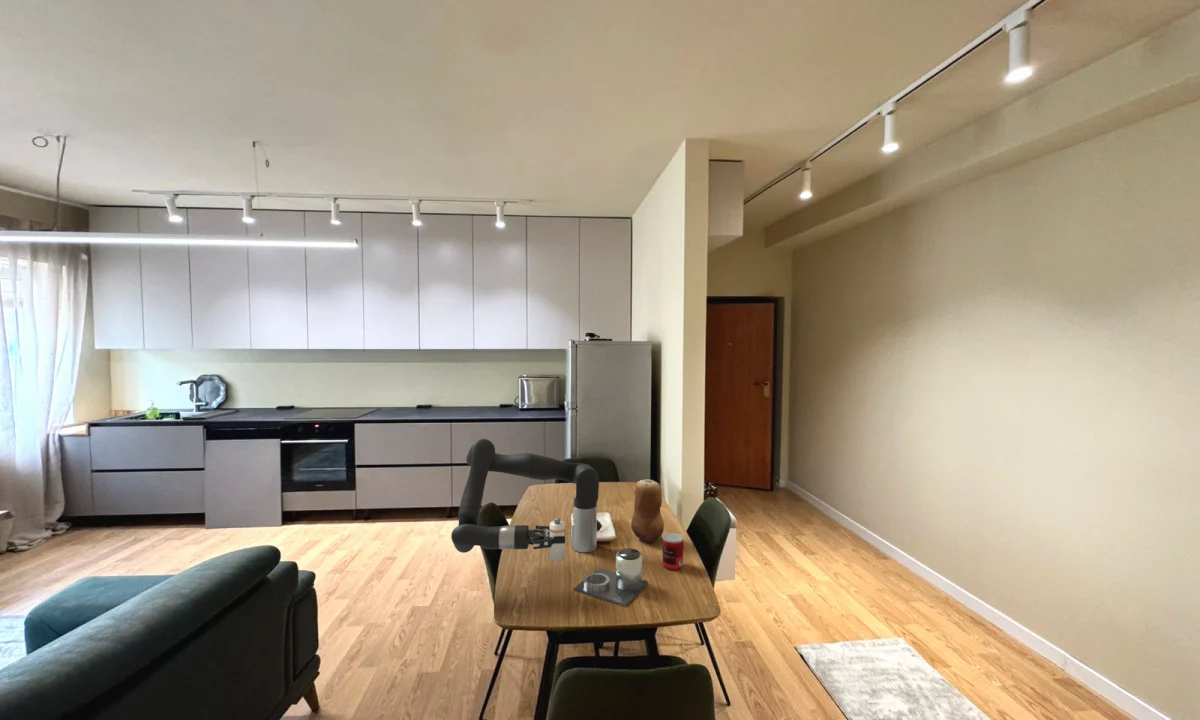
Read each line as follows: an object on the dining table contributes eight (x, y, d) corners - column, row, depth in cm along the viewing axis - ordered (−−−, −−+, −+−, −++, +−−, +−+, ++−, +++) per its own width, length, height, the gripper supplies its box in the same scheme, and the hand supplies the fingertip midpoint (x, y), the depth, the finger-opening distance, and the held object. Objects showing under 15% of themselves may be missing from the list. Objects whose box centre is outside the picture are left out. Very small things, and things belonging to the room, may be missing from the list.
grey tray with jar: (574, 590, 164) (574, 556, 164) (599, 569, 179) (600, 538, 178) (625, 606, 154) (626, 570, 154) (648, 583, 169) (648, 550, 168)
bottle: (546, 559, 164) (546, 519, 163) (555, 553, 168) (555, 514, 168) (558, 563, 161) (559, 522, 161) (567, 557, 166) (568, 517, 165)
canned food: (680, 561, 186) (681, 532, 186) (685, 571, 178) (685, 541, 178) (660, 561, 186) (661, 532, 186) (664, 571, 178) (664, 541, 178)
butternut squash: (668, 538, 207) (669, 479, 206) (655, 549, 196) (656, 488, 195) (639, 531, 214) (639, 474, 213) (624, 542, 203) (625, 482, 202)
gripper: (511, 535, 156) (565, 533, 157) (516, 518, 170) (565, 517, 172) (511, 558, 157) (565, 556, 158) (516, 539, 171) (565, 538, 172)
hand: (565, 536), depth 165 cm, fingers closed on bottle, 5 cm apart
